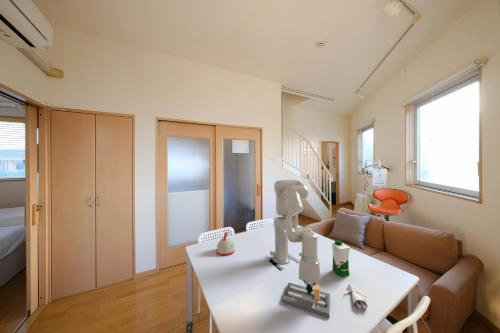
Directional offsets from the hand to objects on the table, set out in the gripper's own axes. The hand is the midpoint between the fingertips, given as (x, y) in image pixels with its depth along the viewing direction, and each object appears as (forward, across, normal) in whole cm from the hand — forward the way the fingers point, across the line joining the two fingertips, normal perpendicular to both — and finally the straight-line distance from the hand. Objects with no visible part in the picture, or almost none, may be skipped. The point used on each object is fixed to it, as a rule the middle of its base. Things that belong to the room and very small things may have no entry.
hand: (309, 292), depth 93 cm
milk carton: (+5, +16, +33) cm, 37 cm away
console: (+4, -2, 0) cm, 5 cm away
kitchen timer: (+5, -68, +26) cm, 72 cm away
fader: (+2, +4, 0) cm, 4 cm away
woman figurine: (+5, +22, +12) cm, 25 cm away
